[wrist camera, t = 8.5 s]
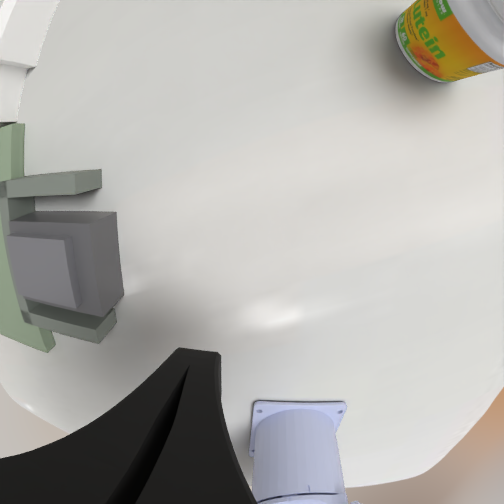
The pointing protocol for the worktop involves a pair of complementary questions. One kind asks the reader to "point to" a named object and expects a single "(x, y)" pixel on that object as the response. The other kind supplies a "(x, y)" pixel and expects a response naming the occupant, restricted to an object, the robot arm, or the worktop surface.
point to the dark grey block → (67, 259)
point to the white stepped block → (20, 48)
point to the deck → (3, 282)
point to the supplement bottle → (452, 37)
